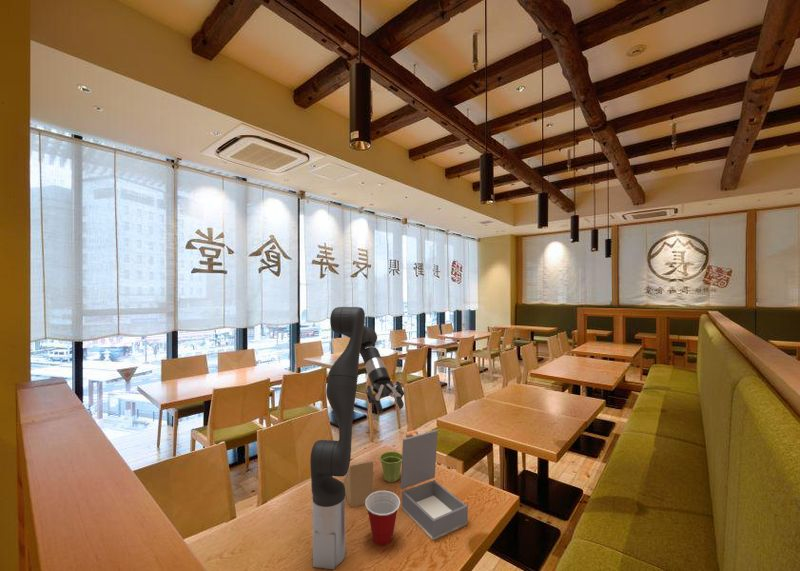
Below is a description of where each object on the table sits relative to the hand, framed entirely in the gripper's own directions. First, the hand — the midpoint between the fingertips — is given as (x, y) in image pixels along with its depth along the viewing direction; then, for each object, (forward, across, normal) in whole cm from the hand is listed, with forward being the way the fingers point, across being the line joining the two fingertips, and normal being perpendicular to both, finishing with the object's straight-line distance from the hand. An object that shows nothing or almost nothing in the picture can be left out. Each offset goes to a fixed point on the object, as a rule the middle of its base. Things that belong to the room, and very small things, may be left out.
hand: (391, 409), depth 132 cm
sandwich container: (+16, -9, +30) cm, 35 cm away
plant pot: (+14, +7, +31) cm, 35 cm away
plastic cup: (+35, -12, +12) cm, 39 cm away
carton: (+34, +8, +12) cm, 37 cm away
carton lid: (+17, +7, +6) cm, 20 cm away
